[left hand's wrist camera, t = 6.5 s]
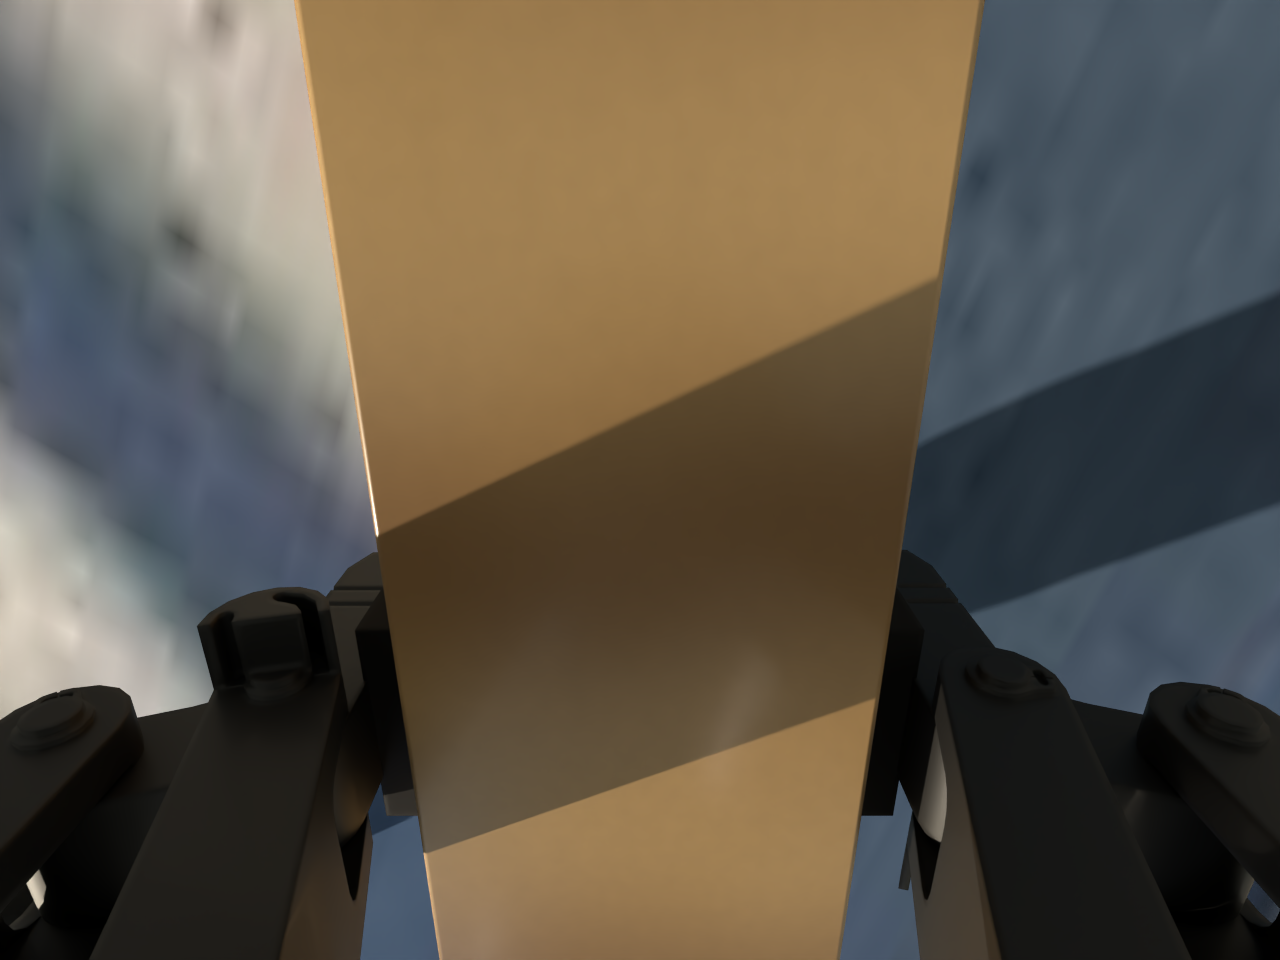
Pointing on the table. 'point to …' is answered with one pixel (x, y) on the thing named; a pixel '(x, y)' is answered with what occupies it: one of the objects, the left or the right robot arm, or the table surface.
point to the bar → (639, 437)
